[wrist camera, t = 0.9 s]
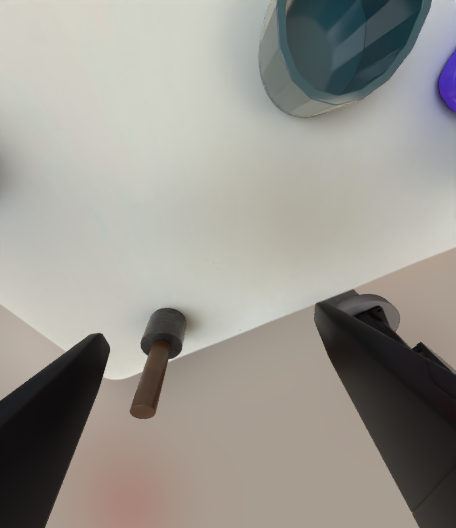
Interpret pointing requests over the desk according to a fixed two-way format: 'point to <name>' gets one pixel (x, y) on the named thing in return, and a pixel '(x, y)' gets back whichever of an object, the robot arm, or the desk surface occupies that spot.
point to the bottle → (449, 83)
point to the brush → (157, 358)
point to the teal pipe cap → (334, 50)
